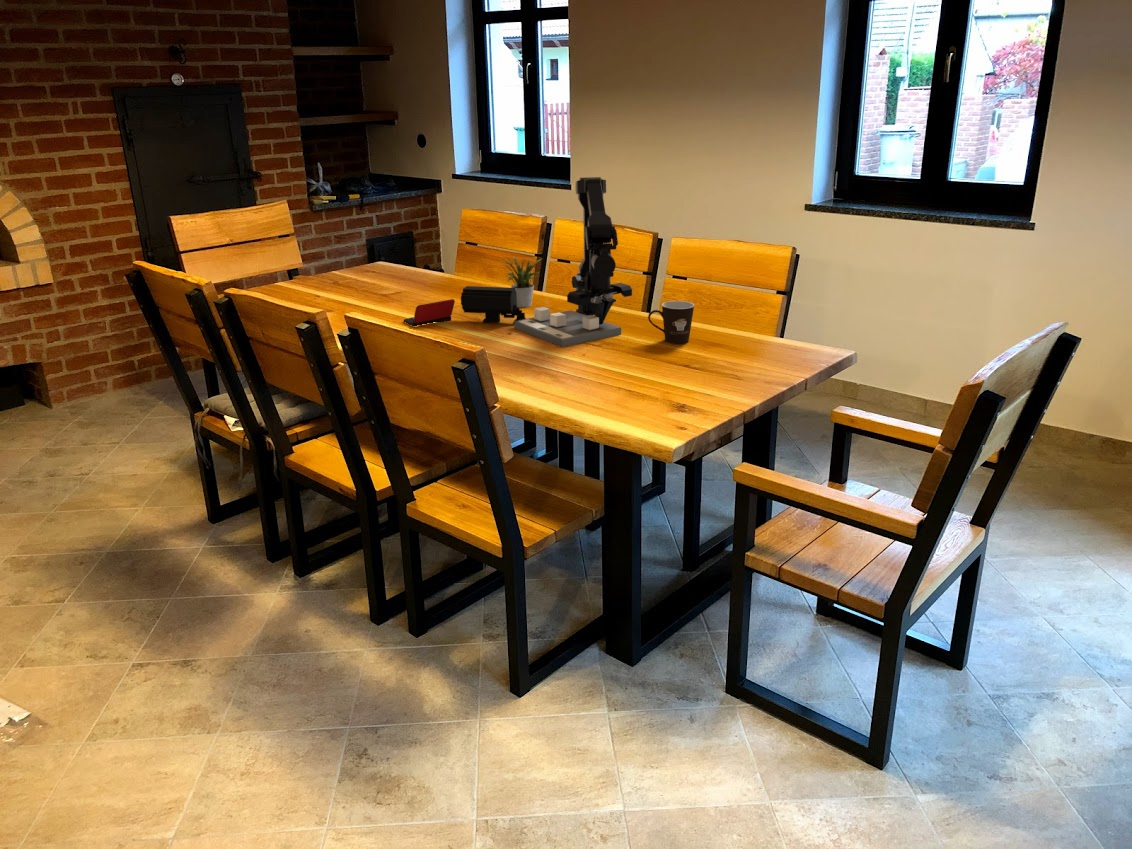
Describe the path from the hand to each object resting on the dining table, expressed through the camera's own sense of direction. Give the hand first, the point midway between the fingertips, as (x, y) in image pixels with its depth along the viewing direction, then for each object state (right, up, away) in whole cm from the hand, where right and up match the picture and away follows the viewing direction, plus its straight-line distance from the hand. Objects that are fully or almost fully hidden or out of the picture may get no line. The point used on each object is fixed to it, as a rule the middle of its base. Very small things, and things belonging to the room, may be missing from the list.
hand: (600, 324), depth 252 cm
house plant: (-24, +9, +32) cm, 41 cm away
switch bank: (-9, -1, +4) cm, 10 cm away
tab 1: (-16, +2, +8) cm, 18 cm away
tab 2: (-12, 0, +2) cm, 12 cm away
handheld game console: (-50, +2, +15) cm, 52 cm away
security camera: (-31, +2, +14) cm, 34 cm away
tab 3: (-3, -1, -1) cm, 3 cm away
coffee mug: (+19, -5, -6) cm, 21 cm away
